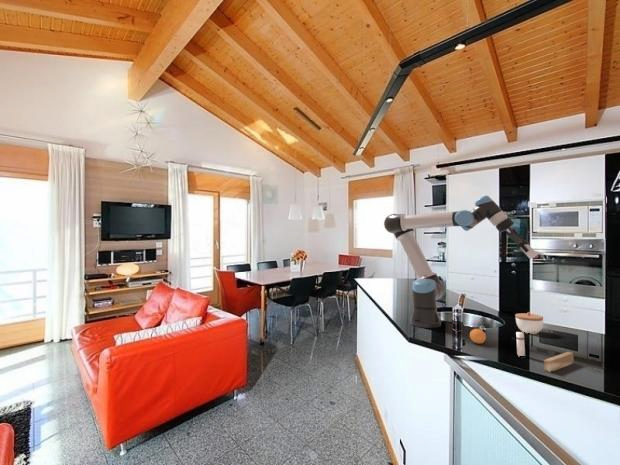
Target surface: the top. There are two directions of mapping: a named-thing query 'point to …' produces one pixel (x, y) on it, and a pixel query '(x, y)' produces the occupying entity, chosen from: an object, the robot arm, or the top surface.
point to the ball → (477, 336)
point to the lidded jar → (529, 322)
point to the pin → (520, 344)
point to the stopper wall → (558, 361)
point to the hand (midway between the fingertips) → (534, 256)
